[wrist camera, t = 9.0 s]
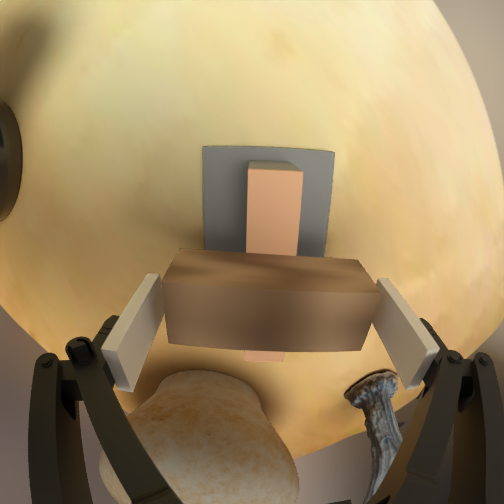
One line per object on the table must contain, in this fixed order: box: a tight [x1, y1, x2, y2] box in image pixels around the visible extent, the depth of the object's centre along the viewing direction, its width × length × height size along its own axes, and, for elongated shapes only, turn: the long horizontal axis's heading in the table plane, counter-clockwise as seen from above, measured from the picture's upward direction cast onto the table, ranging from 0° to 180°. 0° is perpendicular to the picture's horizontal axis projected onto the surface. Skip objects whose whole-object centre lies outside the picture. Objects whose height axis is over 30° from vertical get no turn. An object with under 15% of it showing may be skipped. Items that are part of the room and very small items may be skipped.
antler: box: [344, 371, 403, 504], centre depth 22 cm, size 12×8×25 cm
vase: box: [100, 370, 299, 504], centre depth 20 cm, size 22×22×30 cm
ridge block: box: [203, 146, 335, 362], centre depth 21 cm, size 10×16×7 cm, turn 178°
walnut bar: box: [161, 248, 382, 352], centre depth 16 cm, size 11×4×4 cm, turn 86°
